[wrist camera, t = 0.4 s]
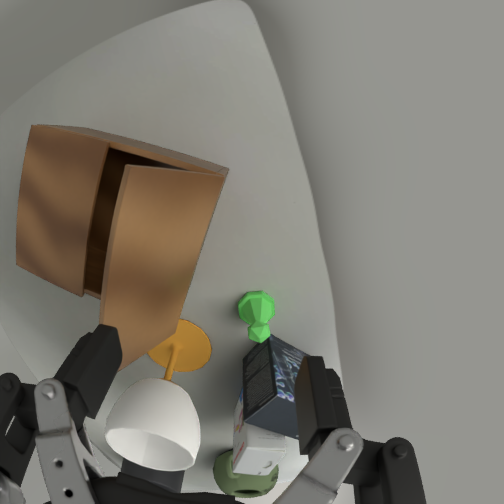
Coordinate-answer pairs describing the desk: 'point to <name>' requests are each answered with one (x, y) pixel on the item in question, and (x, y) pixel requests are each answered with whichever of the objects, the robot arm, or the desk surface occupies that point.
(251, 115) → the desk surface
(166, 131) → the desk surface
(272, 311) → the game piece
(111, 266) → the flap
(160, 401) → the cup
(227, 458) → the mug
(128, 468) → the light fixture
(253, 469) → the ink box
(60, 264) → the brown boxy piece
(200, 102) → the desk surface
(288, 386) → the box
